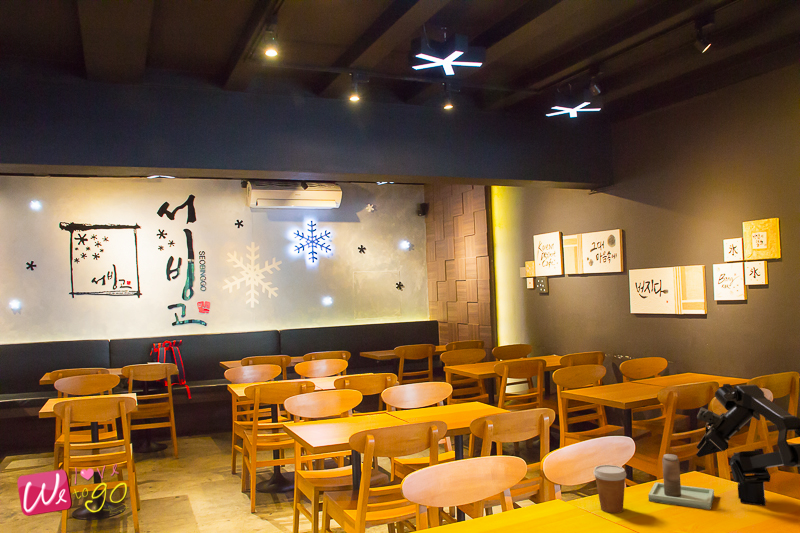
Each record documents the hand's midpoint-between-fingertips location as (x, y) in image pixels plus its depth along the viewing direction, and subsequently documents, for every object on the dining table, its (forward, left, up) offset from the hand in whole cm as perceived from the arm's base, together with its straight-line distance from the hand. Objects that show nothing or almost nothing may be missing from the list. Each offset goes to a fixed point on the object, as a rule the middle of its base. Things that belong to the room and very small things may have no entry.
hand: (697, 452), depth 188 cm
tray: (+5, +7, -13) cm, 15 cm away
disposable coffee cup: (+22, +25, -13) cm, 35 cm away
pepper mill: (+7, +7, -12) cm, 16 cm away
